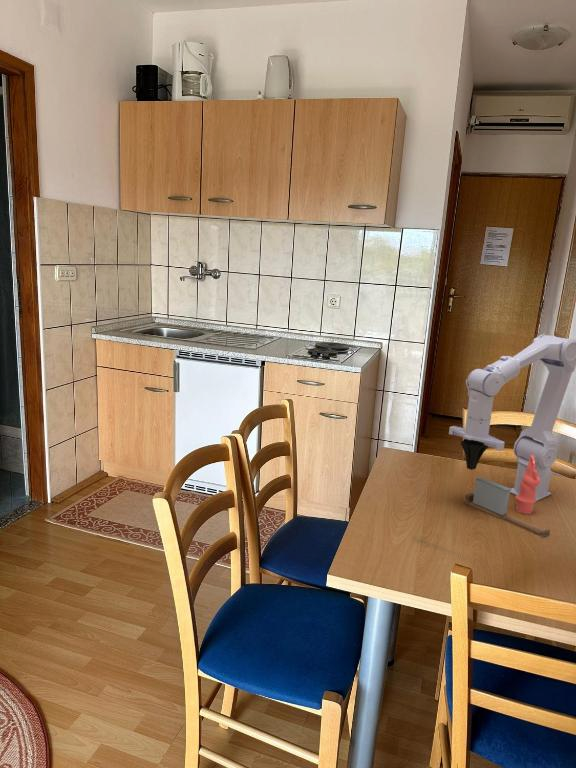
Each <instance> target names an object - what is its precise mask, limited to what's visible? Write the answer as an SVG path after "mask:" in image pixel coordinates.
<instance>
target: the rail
mask: <svg viewBox="0 0 576 768" xmlns="http://www.w3.org/2000/svg"><path fill="white" fill-rule="evenodd" d="M464 498H465V499H464V504H465V505H469V506H471V507H474V508H475V509H478V510H480V511H483V512H485V513H487V514H488V515H492V516H493V517H496V518H499V519H501V520H503V521H506V522H508V523H510V524H513V525H515V526H517V527H519V528H521V529H523V530H526V531H529V532H530V533H534V534H535V535H538V536H540V537H541V538H543V539H544V538H545V537H547V536H549V535H550V532H551V529H550V528H546V529H543V528H541V527H538V526H535V525H533V524H532V523H528V522H527V521H524V520H521V519H519V518H517V517H514V516H512V515H509V514H507V513H506V514H505V515H500V514H498V513H496V512H493V511H491V510H489V509H486V508H484V507H482V506H480V505H477V504H475V503H473V499H474V492H473V491H472V492H469V493H467V494H465V497H464Z"/></svg>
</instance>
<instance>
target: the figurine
mask: <svg viewBox="0 0 576 768" xmlns="http://www.w3.org/2000/svg"><path fill="white" fill-rule="evenodd" d="M534 458H535V456H533V455H531V456H530V460H529V462H528V465H527V468H526V472H525V473H524V475H523V476H522V481H521V483H520V491H519V493H518V494H517V495H515V499H516V504H515V510H516V511H517V512H519V513H521V514H525V515H531V514H533V508H534V504H535V503H536V502H537V501H536V499H535V494H536V486H538V485H539V484H540V478H539V477H538V471H537V470H535V460H534Z"/></svg>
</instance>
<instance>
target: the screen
mask: <svg viewBox="0 0 576 768" xmlns="http://www.w3.org/2000/svg"><path fill="white" fill-rule="evenodd" d="M474 485H475V486H474V492H473V493H474V499H473V503H475V504H477V505H480V506H482V507H484V508H486V509H489V510H491V511H493V512H496V513H498V514H500V515H505V514H507V512H508V506H509V500H510V494H511V493H510V490H511V488H512V487H511V488H510V487H508V486H506V485H503V484H500V483H497V482H495V481H492V480H490V479H488V478H484V477H482V476H478V477H476V478H475V484H474Z"/></svg>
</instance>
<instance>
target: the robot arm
mask: <svg viewBox="0 0 576 768" xmlns="http://www.w3.org/2000/svg"><path fill="white" fill-rule="evenodd" d="M537 361H540V362H541V363H542V364H543V365H544V366H545V367H546V369H547V370H548V375H547V377H546V381H545V383H544V387H543V389H542V392H541V396H540V399H539V401H538V405H537V407H536V410H535V413H534V415H533V416H534V417H533V420H532V422H531V425H530V426H529V427H527V428H525V429H524V430H521V431H520V434H519V437H518V438H517V439H516V440H515V442H514V445H513V454H514V455H515V456H516V461H517V462H518V463H517V467H516V468H517V469H516V474H515V480H514V481H515V482H514V487H511V490H510V494H513V495H515V496H516V495H517V494H518V493H519V491H520V483H521V481H522V476H523V475H524V473H525V472H526V468H527V465H528V462H529V460H530V456H531V455H533V456H535V458H534V460H535V470H537V471H538V477H539V478H540V484H539V485H538V486H536V494H535V499H536V502H537V501H539V500H542V499H544V498H546V497H548V496H550V495H551V494H552V493H551V492H550V491H549V487H550V482H551V481H550V480H551V476H552V470H551V466H553V464H554V463H555V462H556V459H557V456H558V455H557V453H558V452H557V450H558V446H559V442H558V440H557V438H556V437H555V436H554V434H553V429H554V428H555V427H554V426H555V424H556V421H557V419H558V415H559V412H560V409H561V406H562V403H563V401H564V397H565V395H566V392H567V389H568V386H569V384H570V380H571V377H572V375H573V372H574V371H575V370H576V339H573V338H564V337H558V336H553V335H548V334H546V333H543V334H540V335H539V336H537V337H535V338H533V340H532V342H531V344H530V345H528V346H527V347H525V348H523V349H522V350H521V351H519V352H518V353H517V354H515V355H514V356H510V355H502V356H500V357H499V359H498V360H496V361H495V362H493V363H491V364H487V365H486V366H485V367H484V368H476V369H474V370H472V371H470V373H469V374H468V376H467V379H465V386H466V388H467V396H468V402H467V404H468V405H467V412H466V418H465V426H464V428H463V427H460V426H456V425H453V426H449V427H448V428H449V430H448V431H449V432H448V435H451V436H453V435H454V436H457V437H460V438H463V440H461V441H460V445H461V447H462V450H463V453H464V457H465V461H466V463H465V464H466V469H468V470H471V471H472V470H475V469H477V466H478V464H479V462H480V459H481V457H482V456H483V454H484V453H485V451H486V450H487V449H488V448H493V449H495V450H496V451H500V452H501V451H502V450H505V443H506V442H505V441H504V440H500V439H499V438H496V437H495V436H492V435H490V426H491V419H492V412H493V405H494V399H495V396H496V395H497V394H498V393H499V392H500V390H501V388H502V387H503V386H504V385H505V384H506V383H508V382H509V381H511V380H513V379H515V378H516V377H518V376H519V375H520V373H521V369H523V368H525V367H527V366H530V365H531V364H533V363H535V362H537Z"/></svg>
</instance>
